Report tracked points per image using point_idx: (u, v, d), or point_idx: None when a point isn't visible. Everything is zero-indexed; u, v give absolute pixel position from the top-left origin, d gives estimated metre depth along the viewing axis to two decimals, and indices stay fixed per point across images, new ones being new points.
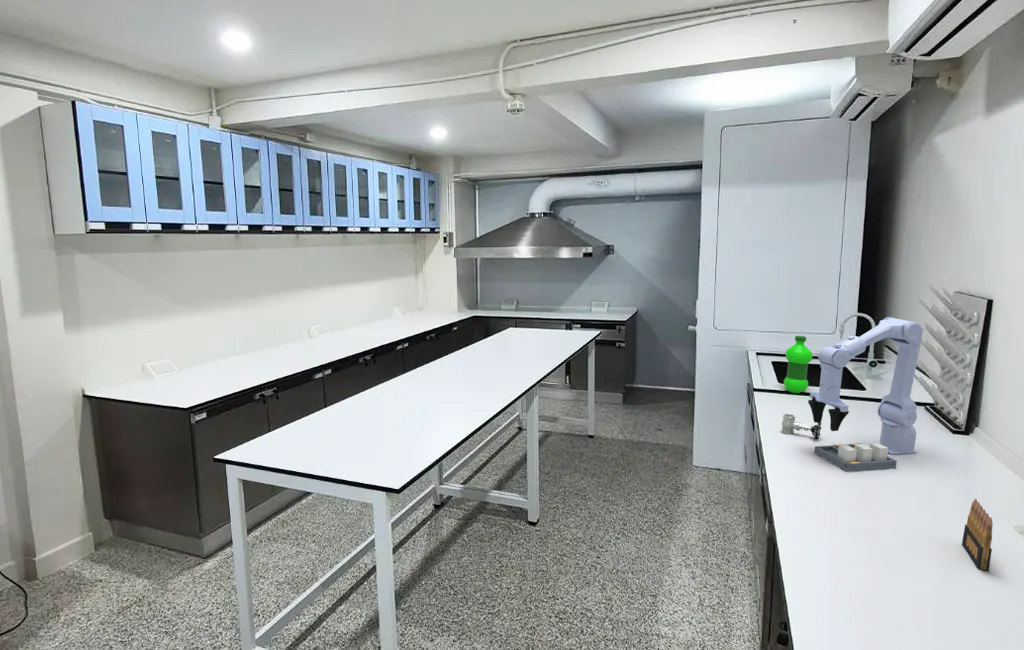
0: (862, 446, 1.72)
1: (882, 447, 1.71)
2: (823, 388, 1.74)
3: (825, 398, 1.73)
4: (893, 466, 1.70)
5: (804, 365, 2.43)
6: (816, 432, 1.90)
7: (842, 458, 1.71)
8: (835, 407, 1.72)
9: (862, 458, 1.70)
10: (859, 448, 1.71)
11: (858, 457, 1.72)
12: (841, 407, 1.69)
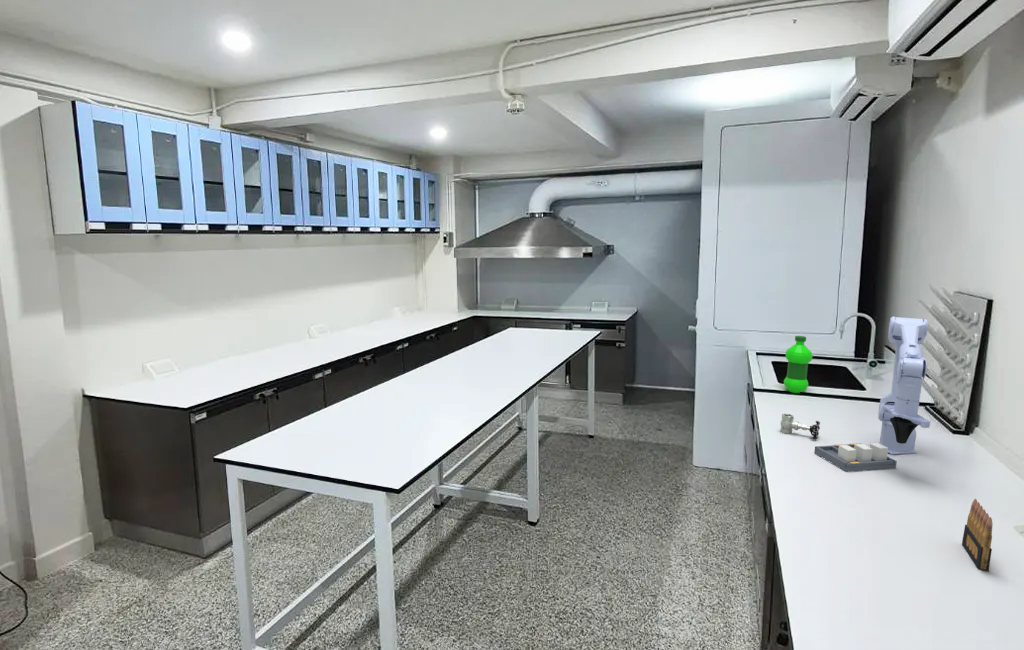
0: (862, 446, 1.72)
1: (882, 447, 1.71)
2: (900, 402, 1.61)
3: (902, 413, 1.61)
4: (893, 466, 1.70)
5: (804, 365, 2.43)
6: (815, 432, 1.90)
7: (842, 458, 1.71)
8: (904, 418, 1.62)
9: (862, 458, 1.70)
10: (859, 448, 1.71)
11: (858, 457, 1.72)
12: (922, 423, 1.56)
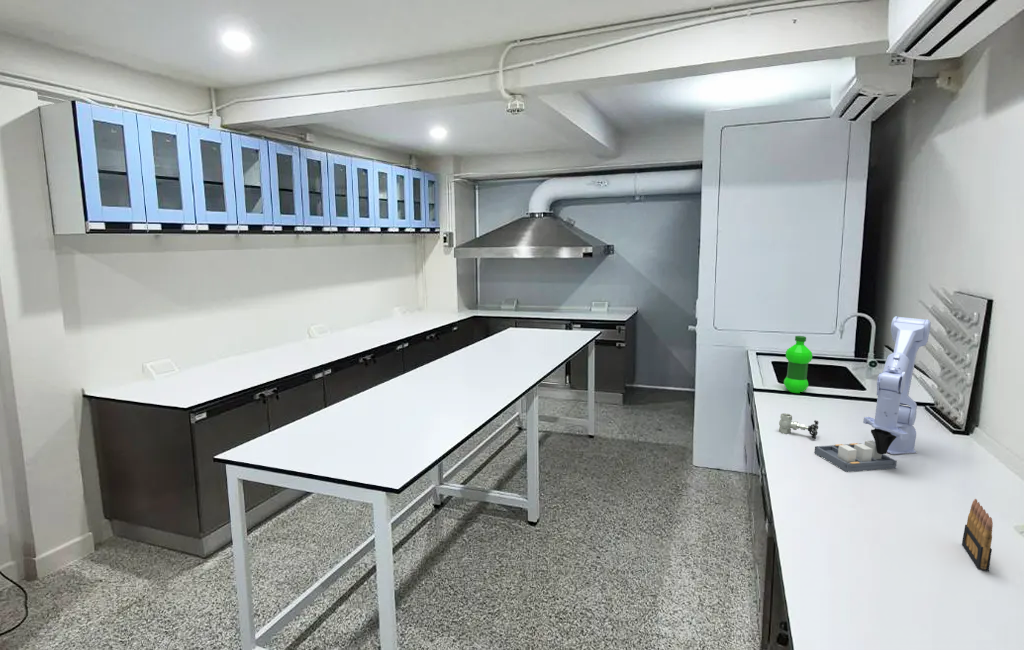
0: (862, 446, 1.72)
1: None
2: (880, 414, 1.68)
3: (882, 425, 1.68)
4: (893, 466, 1.70)
5: (804, 365, 2.43)
6: (813, 431, 1.91)
7: (842, 458, 1.71)
8: (883, 430, 1.69)
9: (862, 458, 1.70)
10: (859, 448, 1.71)
11: (858, 457, 1.72)
12: (900, 435, 1.63)
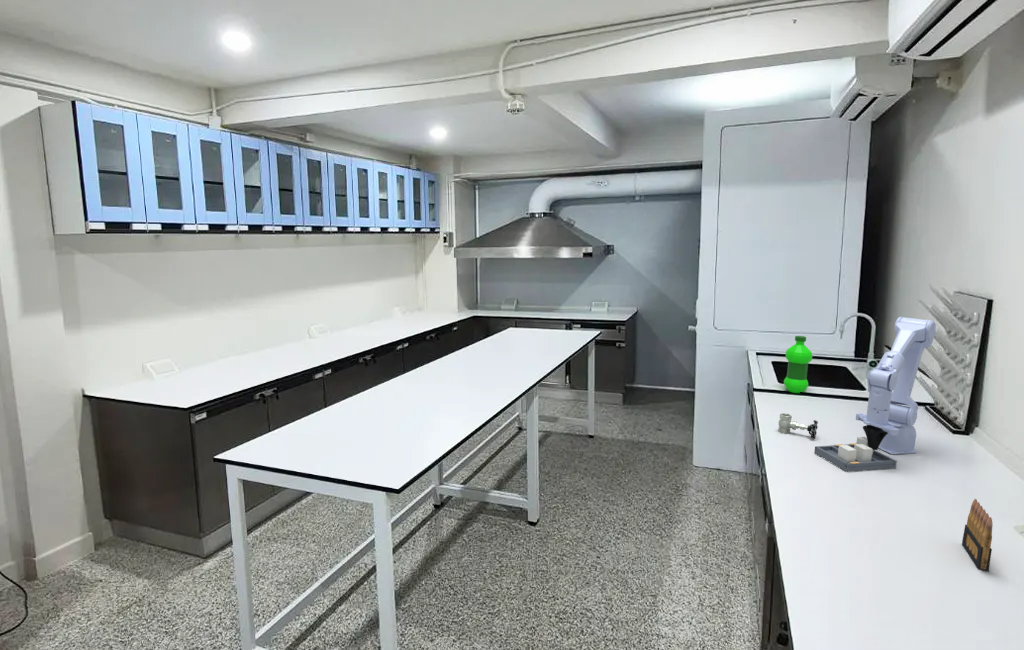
0: (862, 446, 1.72)
1: None
2: (872, 411, 1.71)
3: (874, 421, 1.71)
4: (893, 466, 1.70)
5: (804, 365, 2.43)
6: (813, 431, 1.91)
7: (842, 458, 1.71)
8: (875, 426, 1.73)
9: (862, 458, 1.70)
10: (859, 448, 1.71)
11: (858, 457, 1.72)
12: (891, 431, 1.66)
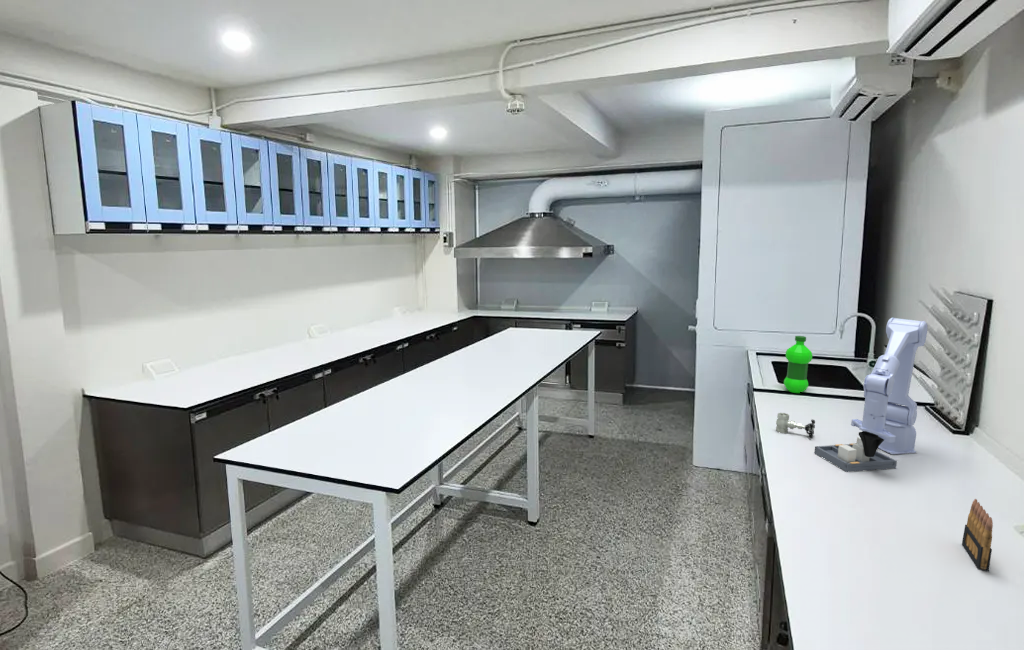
0: (860, 445, 1.72)
1: None
2: (868, 417, 1.66)
3: (870, 427, 1.66)
4: (893, 466, 1.70)
5: (804, 365, 2.43)
6: (810, 430, 1.91)
7: (842, 458, 1.71)
8: (871, 433, 1.67)
9: (860, 457, 1.71)
10: (857, 447, 1.72)
11: (856, 456, 1.72)
12: (888, 438, 1.61)
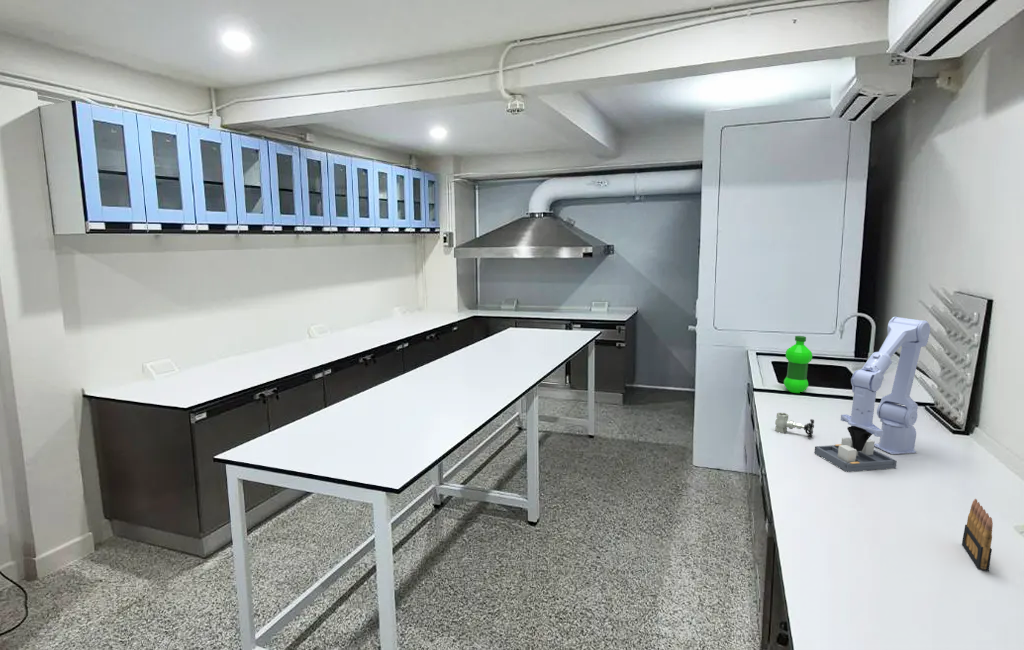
0: (849, 439, 1.77)
1: (869, 440, 1.76)
2: (856, 412, 1.70)
3: (858, 422, 1.70)
4: (893, 466, 1.70)
5: (804, 365, 2.43)
6: (810, 430, 1.92)
7: (842, 458, 1.71)
8: (859, 427, 1.72)
9: None
10: (846, 442, 1.76)
11: None
12: (875, 432, 1.65)
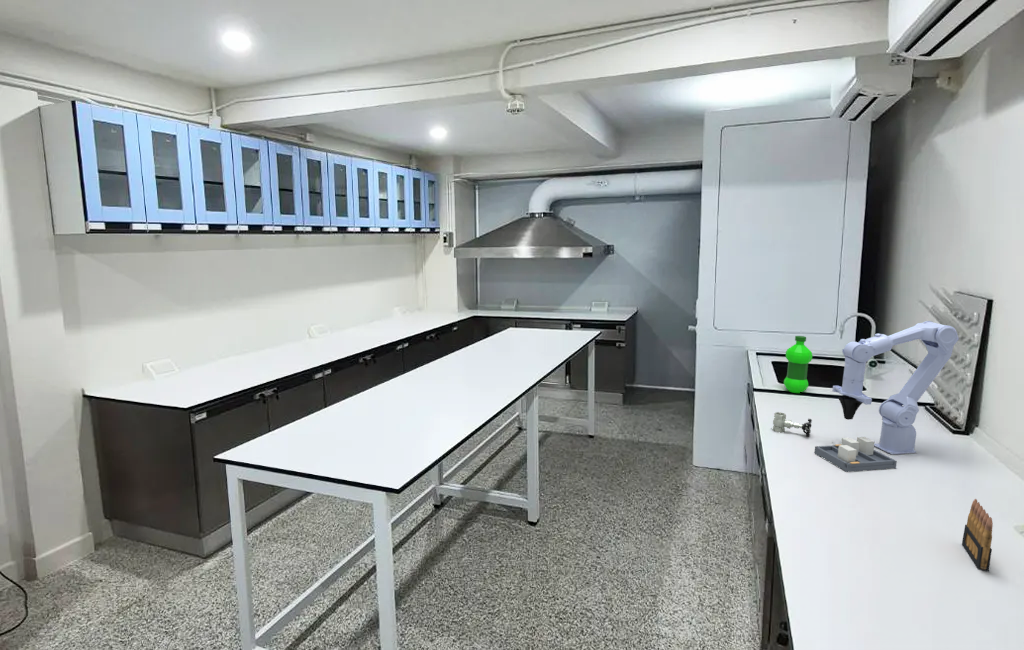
0: (849, 439, 1.77)
1: (869, 440, 1.76)
2: (847, 382, 1.80)
3: (848, 391, 1.79)
4: (893, 466, 1.70)
5: (804, 365, 2.43)
6: (807, 430, 1.92)
7: (842, 458, 1.71)
8: (850, 397, 1.81)
9: None
10: (846, 442, 1.76)
11: None
12: (865, 400, 1.75)
